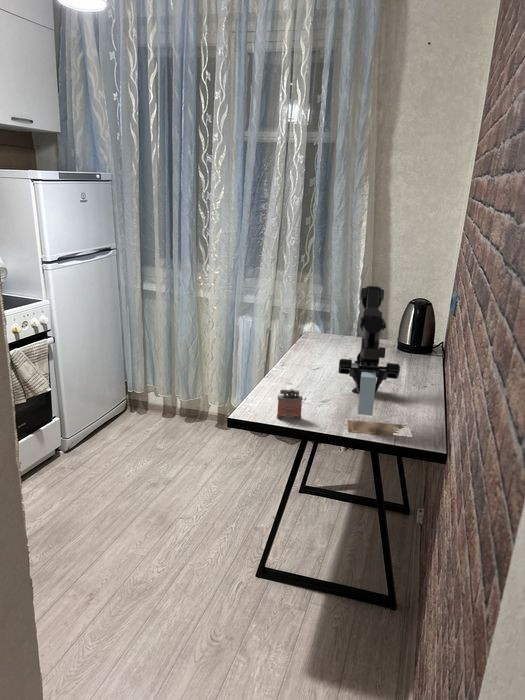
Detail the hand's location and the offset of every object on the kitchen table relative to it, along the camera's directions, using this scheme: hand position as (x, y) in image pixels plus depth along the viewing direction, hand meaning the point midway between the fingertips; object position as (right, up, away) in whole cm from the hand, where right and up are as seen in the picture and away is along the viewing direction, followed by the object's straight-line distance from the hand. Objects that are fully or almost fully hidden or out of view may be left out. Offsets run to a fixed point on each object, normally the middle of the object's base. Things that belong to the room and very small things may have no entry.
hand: (367, 393), depth 167 cm
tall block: (0, -6, +3) cm, 7 cm away
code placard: (+5, -12, +4) cm, 13 cm away
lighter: (-24, -9, +10) cm, 27 cm away
